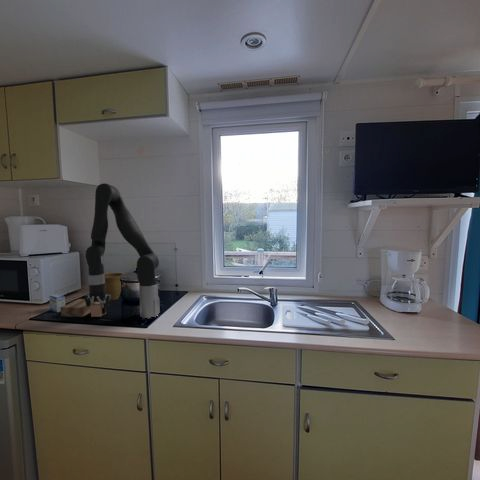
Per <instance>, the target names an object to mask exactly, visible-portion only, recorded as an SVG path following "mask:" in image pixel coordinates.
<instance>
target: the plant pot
mask: <svg viewBox="0 0 480 480" xmlns="http://www.w3.org/2000/svg"><path fill="white" fill-rule="evenodd" d="M122 275H124V276H125V274H124V273H122V272H111V273H104V276H105V293H106V294H107V295H110V294H111V301H116V300H118V299H119V297H120V294H121V292H122V289H121V282H120V277H121V276H122ZM105 300H106V297H105Z"/></svg>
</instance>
